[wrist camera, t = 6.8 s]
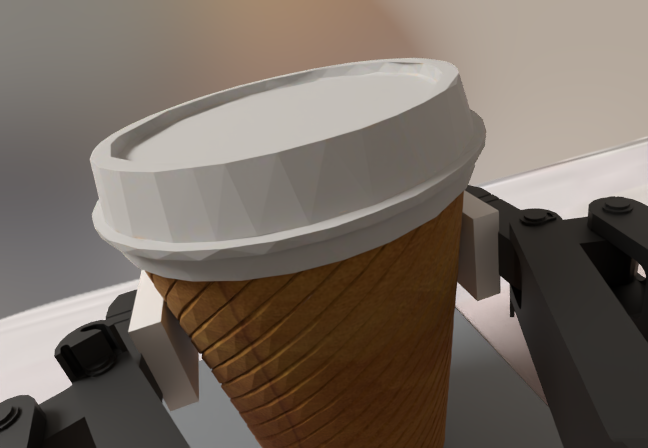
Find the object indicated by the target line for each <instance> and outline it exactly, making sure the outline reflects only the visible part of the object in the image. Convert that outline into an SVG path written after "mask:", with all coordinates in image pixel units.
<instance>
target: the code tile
mask: <svg viewBox="0 0 648 448" xmlns="http://www.w3.org/2000/svg"><path fill="white" fill-rule="evenodd" d="M211 370H212V369H210V368H209V367H208V366H207V364H206V363H205V362H204V360H201V361H199V401H198V402H195V403H193V404H190V405H187V406H184V407H182V408H179V409H176V410H173V411H170V410H169V408H168V406H167V404H166V402H165V401H164V399H163V400H162V404H163V405H164V407H165V408H166V410H167V412H168V413H169V415H170V416H171V418H172V419H173V421H174V422H175V424H176V426H177V427H178V429H179V430H180V432H181V433H182V435H183V437H184V438H185V440H186V441H187V443H188V444H189V446H190V448H262V447H261V446H260V444H259V443H258V442H257V440H256V439H255V436H254V435H253V434H252V432H251V431H250V430H249V428H248V427H247V423H245V421H244V420H243V419H242V417H241V416H240V414H239V411H237V409H236V408H235V407H234V405H233V404H232V403H231V401H230V399H231V398H229V397H228V396H227V394H226V393H225V392H224V390H223V389H222V388H221V385H222V383H219V382H218V381H217V379H216V378H215V376H214V375H213V373H212V372H211ZM443 448H564V447H563V445H562V442H561V439H560V436H559V433H558V430H557V428H556V425H555V422H554V419H553V416H552V414H551V411H550V408H549V407H548V406H547V405H546V404H545V403H544V402H543V401H542V399H541V398H540V397H539V396H538V395H537V394H536V393H535V392H534V391H533V390H532V389H531V388H530V387H529V386H528V385H527V383H526V382H525V381H524V380H523V379H522V378H521V377H520V376H519V375H518V374H517V373H516V372H515V371H514V370H513V369H512V367H511V366H510V365H509V364H508V363H507V362H506V361H505V360H504V359H503V358H502V357H501V356H500V355H499V354H498V353H497V352H496V350H495V349H494V348H493V347H492V346H491V345H490V344H489V343H488V342H487V341H486V340H485V339H484V338H483V337H482V336H481V334H480V333H479V332H478V331H477V330H476V329H475V328H474V327H473V326H472V325H471V324H470V323H469V322H468V321H467V320H466V319H465V317H464V316H463V315H462V314H461V313H460V312H459V311H458V310H457V309H456V308H455V312H454V329H453V341H452V357H451V365H450V377H449V390H448V403H447V413H446V427H445V442H444V446H443Z"/></svg>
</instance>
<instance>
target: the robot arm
mask: <svg viewBox="0 0 648 448" xmlns="http://www.w3.org/2000/svg"><path fill="white" fill-rule="evenodd" d="M639 264H640V265H641V266H642V268H643V269H644V271H645V274H646V278H644V277H643V276H641V275H640V274H639V273H637V271H638V265H639ZM500 276H501V277H502V278H504V279H505V280H506V281H507V282H509V283H510V317H514V312H516V315H517V318H518V321H519V323H520V326H521V329H522V332H523V335H524V338H525V340H526V343H527V346H528V349H529V352H530V354H531V357H532V360H533V363H534V366H535V368H536V371H537V374H538V377H539V380H540V383H541V385H542V388H543V391H544V394H545V397H546V399H547V402H548V405H549V408H550V411H551V414H552V416H553V419H554V422H555V425H556V428H557V430H558V433H559V436H560V439H561V442H562V445H563V447H564V448H648V206H646V205H645V204H643V203H641V202H638V201H635V200H633V199H628V198H624V197H615V196H614V197H607V198H600V199H597V200H595V201H593V202H591V203H590V204H589V209H588V217H582V218H574V219H567V220H562V218H561V217H560V216H559V215H558V214H556V213H555V212H552V211H549V210H545V209H525V210H520V209H518V208H516V207H514V206H512V205H511V204H509V203H507V202H505V201H503V200H502V199H499V198H498V197H496V196H494V195H493V194H492V195H491V193H489V192H487V191H485V190H484V189H482V188H479V187H474V186H470V185H468V186H467V188H466V189H465V190H464V197H463V211H462V226H461V235H460V250H459V264H458V278H457V282H458V283H459V284H460V285H461V286H462V287H463V288H464V289H465V290H466V291H468V292H469V293H470V294H471V295H472V296H473V297H474V298H475V299H476V300H477V301H479V300H482V299H485V298H488V297H490V296H493V295H496V294H499V293H500ZM54 356H55V358H56V359H57V361H58V362H59V364H60V366H61V367H62V369H63V370H64V372H65V373H66V375H67V376H68V378H69V379H70V381H71V382H72V386H71V387H69V388H67V389H66V390H64V391H63V392H61V393H59V394H57V395H56V396H54V397H52V398H50V399H48V400H46V401H45V402H43V403H41V404H39V405H38V403H37V402H36V401H35V399H34V398H32V397H31V396H29V395H19V396H16V397H13V398H10V399H7V400H5V401H3V402H1V403H0V448H190V446H189V444H188V443H187V441H186V440H185V438H184V437H183V435H182V433H181V432H180V430H179V429H178V427H177V426H176V424H175V422H174V421H173V419H172V418H171V416H170V415H169V413H168V412H167V410H166V408H165V407H164V405H163V404H162V400H163V399H164V401H165V402H166V404H167V406H168V408H169V410H170V411H173V410H176V409H179V408H182V407H184V406H187V405H190V404H193V403H195V402H198V401H199V355H198V351H197V349H196V348H195V347H194V345H193V344H192V343H191V338H189V337H188V335H187V334H186V333H185V331H184V330H183V328H182V327H181V326H180V321H179V320H177V319H176V317H175V316H174V314H173V313H172V312H171V310H170V309H169V308H168V306H167V302H165V300H164V299H163V298H162V296H161V295H160V293H159V292H158V291H157V289H156V288H155V287H154V283H152V281H151V280H150V278H149V277H148V275H147V274H146V272H145V270H142V271H141V276H140V280H139V285H138V289H137V290H134V291H131V292H127V293H124V294H121V295H119V296H118V297H117V298H116V299H115V300H114V302H113V303H112V304H111V305H110V306H109V309H108V312H107V315H106V320H99V321H95V322H91V323H88V324H86V325H84V326H81V327H79V328H77V329H76V330H74V331H73V332H71V333H70V334H68V335H67V336H66V337H65V338H64V339H63V340H62V341H60V343H59V344H58V346H57V347H56V349H55V355H54Z"/></svg>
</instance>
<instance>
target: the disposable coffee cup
mask: <svg viewBox="0 0 648 448" xmlns="http://www.w3.org/2000/svg"><path fill="white" fill-rule="evenodd" d="M485 138H486V129H485V125H484V122H483V119H482V118H481V117H480V116H479V115H478V114H477V113H475V112H474V111H472V110H470V108H469V105H468V102H467V98H466V95H465V92H464V88H463V85H462V82H461V78H460V75H459V72H458V69H457V67H456V66H454V65H452V64H451V63H449V62H446V61H439V60H433V59H423V58H399V59H383V60H371V61H362V62H353V63H346V64H339V65H333V66H327V67H321V68H315V69H310V70H306V71H301V72H296V73H291V74H286V75H282V76H277V77H273V78H269V79H265V80H261V81H257V82H252V83H248V84H244V85H240V86H237V87H234V88H230V89H226V90H223V91H219V92H216V93H212V94H209V95H206V96H203V97H200V98H197V99H194V100H191V101H188V102H185V103H182V104H180V105H177V106H174V107H172V108H169V109H167V110H164V111H161V112H158V113H156V114H153V115H150V116H148V117H146V118H144V119H142V120H139V121H138V122H135V123H133V124H131V125H129V126H127V127H125V128H123V129H121V130H120V131H118V132H116V133H114V134H112V135H111V136H109V137H108V138H106V139H105V140H103V141H102V142H101V143H100V144H99V145H98V146H97V147H96V148H95V149H94V150H93V152H92V155H91V157H90V162H91V166H92V170H93V175H94V179H95V183H96V187H97V191H98V195H99V200H98V202H97V203H96V206H95V208H94V211H93V213H92V219H93V223H94V227H95V229H96V230H97V232H98V233H99V235H100V237H101V238H102V239H103V240H105V241H106V242H108V243H109V244H110V245H112V246H113V247H115V248H116V249H118V250H119V251H121V252H122V253H123V254H124V256H125V257H126V258H127V259H128V260H129V261H131V262H132V263H133V264H134V265H135V266H136V267H137V268H139V269H142V270H145V272H146V274H147V275H148V277H149V278H150V280H151V281H152V283H154V287H155V288H156V289H157V291H158V292H159V293H160V295H161V296H162V298H163V299H164V300H165V302H167V306H168V308H169V309H170V310H171V312H172V313H173V314H174V316H175V317H176V319H177V320H179V321H180V326H181V327H182V328H183V330H184V331H185V333H186V334H187V335H188V337H189V338H191V343H192V344H193V345H194V347H195V348H196V349H197V351H198V352H199V353H200V354H202V359H203V360H204V362H205V363H206V364H207V366H208V367H209V368H210V369H212V370H211V372H212V373H213V375H214V376H215V378H216V379H217V381H218V382H219V383H222V385H221V388H222V389H223V390H224V392H225V393H226V394H227V396H228V397H229V398H231V399H230V401H231V403H232V404H233V405H234V407H235V408H236V409H237V411H239V414H240V416H241V417H242V419H243V420H244V421H245V423H247V427H248V428H249V430H250V431H251V432H252V434H253V435H254V436H255V439H256V440H257V442H258V443H259V444H260V446H261V447H262V448H443V446H444V442H445V427H446V413H447V403H448V390H449V377H450V365H451V357H452V341H453V329H454V312H455V300H456V288H457V278H458V264H459V250H460V235H461V226H462V211H463V197H464V190H465V189H466V188H467V186H468V183H469V180H470V178H471V175H472V173H473V170H474V167H475V162H476V160H477V159H478V157H479V155H480V153H481V151H482V150H483V148H484V146H485Z"/></svg>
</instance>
